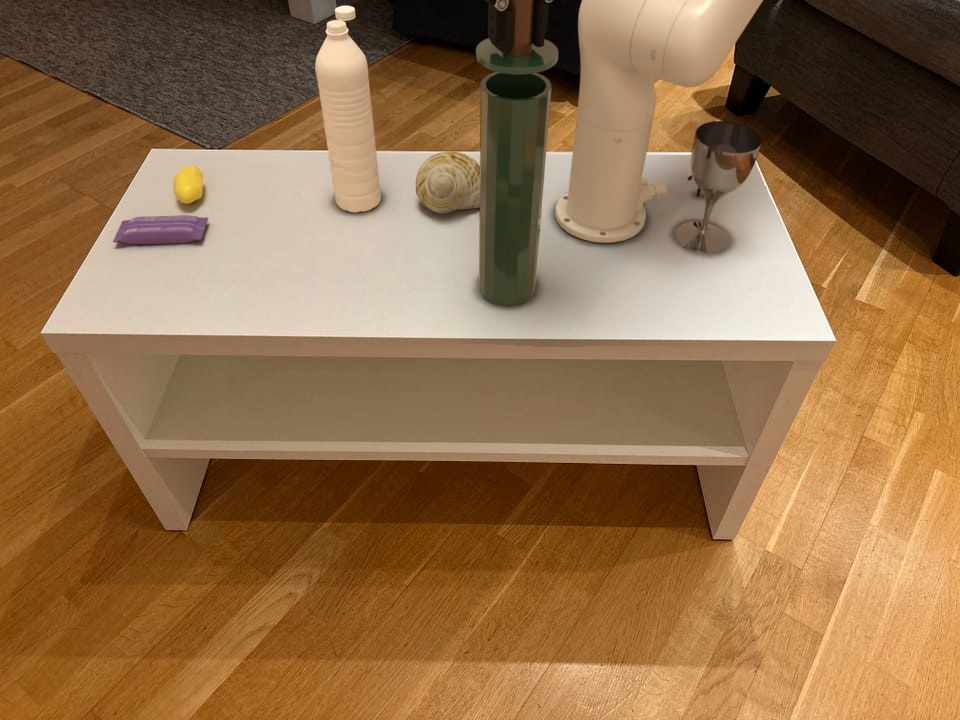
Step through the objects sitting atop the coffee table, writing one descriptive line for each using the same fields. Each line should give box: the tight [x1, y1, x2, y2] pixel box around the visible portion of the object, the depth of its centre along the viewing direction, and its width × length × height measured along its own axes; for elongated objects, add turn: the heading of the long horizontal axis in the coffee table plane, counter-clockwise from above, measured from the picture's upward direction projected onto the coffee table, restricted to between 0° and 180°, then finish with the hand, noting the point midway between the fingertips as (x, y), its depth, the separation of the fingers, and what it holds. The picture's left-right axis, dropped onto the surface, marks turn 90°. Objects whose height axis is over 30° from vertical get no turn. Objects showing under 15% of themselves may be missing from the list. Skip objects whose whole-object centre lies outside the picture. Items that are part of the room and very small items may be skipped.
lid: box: [475, 0, 559, 74], centre depth 70 cm, size 8×8×7 cm
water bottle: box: [314, 5, 382, 213], centre depth 98 cm, size 9×6×25 cm
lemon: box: [172, 165, 205, 205], centre depth 105 cm, size 4×8×4 cm, turn 5°
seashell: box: [415, 150, 480, 214], centre depth 104 cm, size 10×10×10 cm
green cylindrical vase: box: [478, 71, 552, 307], centre depth 83 cm, size 7×7×26 cm
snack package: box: [112, 214, 209, 245], centre depth 99 cm, size 12×2×5 cm
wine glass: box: [674, 120, 763, 254], centre depth 95 cm, size 8×8×15 cm
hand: (517, 43), depth 71 cm, fingers closed on lid, 2 cm apart
